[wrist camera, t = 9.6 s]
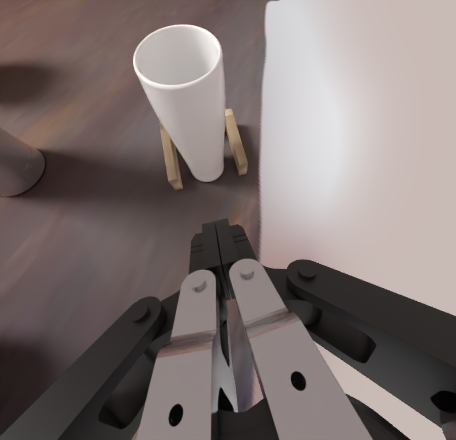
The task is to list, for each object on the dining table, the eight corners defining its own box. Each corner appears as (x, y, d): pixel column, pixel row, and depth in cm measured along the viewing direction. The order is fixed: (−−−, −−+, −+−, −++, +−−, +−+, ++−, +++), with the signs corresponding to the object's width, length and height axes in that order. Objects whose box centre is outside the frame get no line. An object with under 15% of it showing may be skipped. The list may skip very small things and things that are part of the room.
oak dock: (175, 190, 26) (165, 177, 22) (166, 136, 28) (156, 117, 25) (246, 173, 26) (248, 159, 22) (230, 122, 29) (230, 101, 25)
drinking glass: (214, 143, 28) (193, 11, 13) (237, 173, 26) (241, 60, 12) (179, 163, 27) (116, 46, 12) (200, 195, 25) (156, 104, 11)
